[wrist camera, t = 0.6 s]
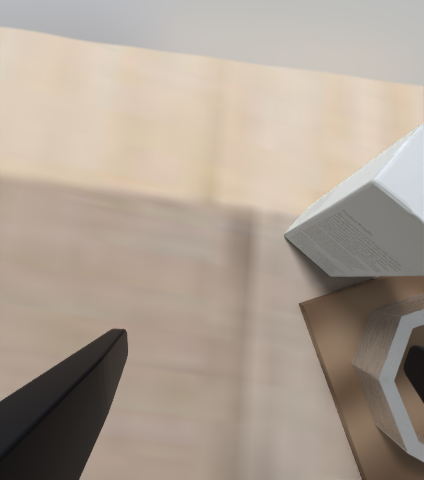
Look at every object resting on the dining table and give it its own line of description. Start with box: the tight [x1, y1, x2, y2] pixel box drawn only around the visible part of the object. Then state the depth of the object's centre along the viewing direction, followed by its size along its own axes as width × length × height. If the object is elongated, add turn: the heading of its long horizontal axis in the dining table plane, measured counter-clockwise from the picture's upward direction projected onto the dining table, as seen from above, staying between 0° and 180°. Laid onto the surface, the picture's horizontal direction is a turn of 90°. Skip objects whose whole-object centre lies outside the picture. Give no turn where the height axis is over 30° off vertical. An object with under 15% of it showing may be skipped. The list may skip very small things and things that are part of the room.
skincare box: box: [284, 124, 424, 277], centre depth 15 cm, size 6×4×12 cm
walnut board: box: [299, 276, 424, 480], centre depth 19 cm, size 16×16×1 cm
